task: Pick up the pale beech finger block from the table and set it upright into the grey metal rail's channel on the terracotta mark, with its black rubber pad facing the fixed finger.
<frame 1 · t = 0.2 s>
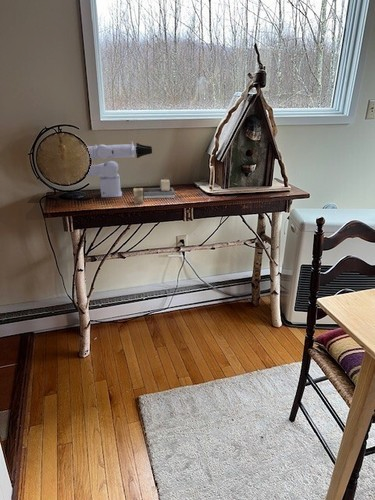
hand: (151, 149, 169), 21 cm above the table, tool horizontal, fingers open, 7 cm apart
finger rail: (155, 195, 174), on the table
finger: (138, 202, 164), on the table
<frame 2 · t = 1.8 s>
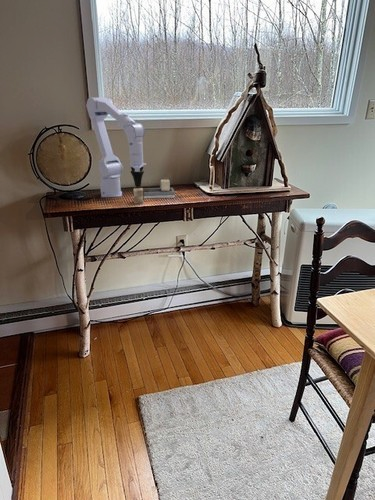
hand: (137, 184, 161), 8 cm above the table, tool pointing down, fingers open, 7 cm apart
nothing on the table moved.
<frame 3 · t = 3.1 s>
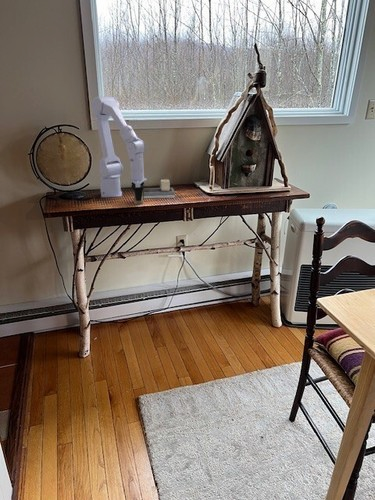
hand: (138, 199, 164), 1 cm above the table, tool pointing down, fingers closed on finger, 4 cm apart
finger: (138, 202, 164), on the table, touching gripper
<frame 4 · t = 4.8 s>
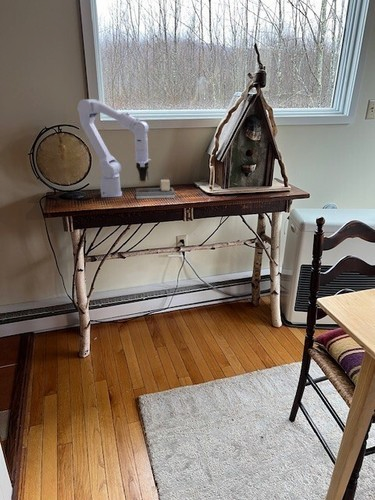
hand: (142, 179, 169), 8 cm above the table, tool pointing down, fingers closed on finger, 4 cm apart
finger: (143, 182, 169), point 7 cm above the table, touching gripper
when the fingers open (3 cm above the table, at t = 6.5 s): finger stays where it is, resting on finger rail.
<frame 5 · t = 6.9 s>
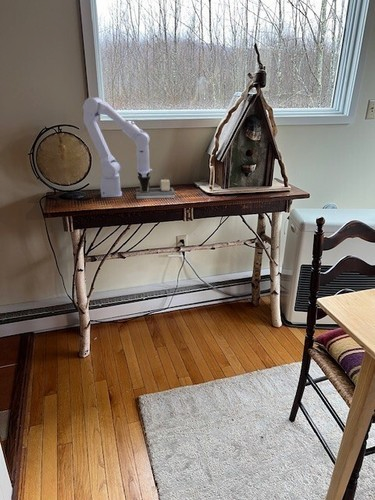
hand: (144, 188, 172), 3 cm above the table, tool pointing down, fingers open, 7 cm apart
finger: (144, 193, 173), point 1 cm above the table, touching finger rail
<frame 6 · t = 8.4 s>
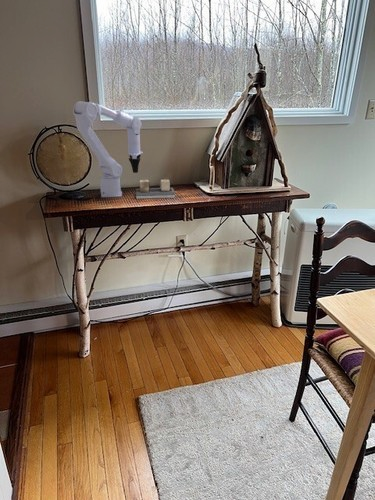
hand: (135, 171, 180), 9 cm above the table, tool pointing down, fingers open, 7 cm apart
nothing on the table moved.
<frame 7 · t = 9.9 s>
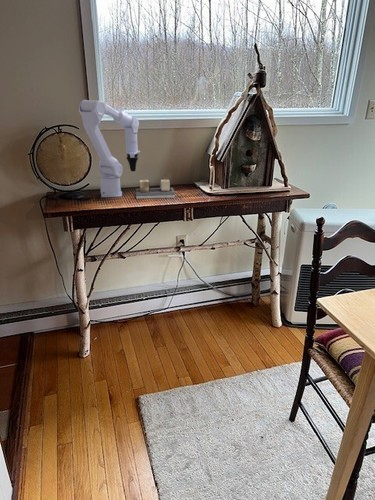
hand: (133, 169, 184), 9 cm above the table, tool pointing down, fingers open, 7 cm apart
nothing on the table moved.
at the end: finger 0.1 cm from the target spot on the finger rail, point 1.3 cm above the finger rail's base; finger tilted 0°; the gripper is holding nothing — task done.
